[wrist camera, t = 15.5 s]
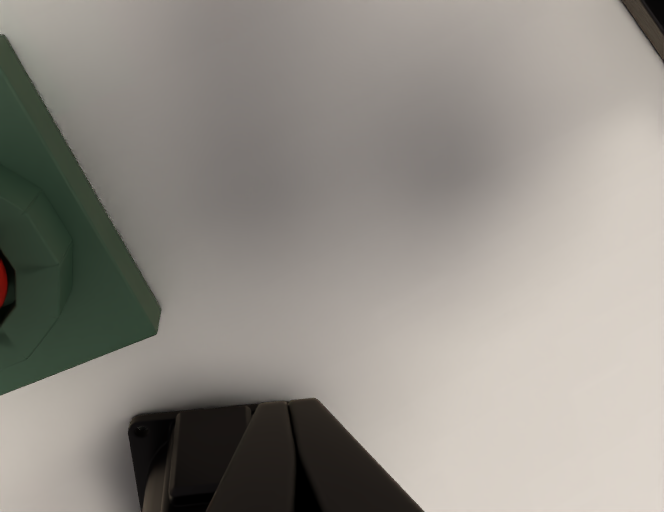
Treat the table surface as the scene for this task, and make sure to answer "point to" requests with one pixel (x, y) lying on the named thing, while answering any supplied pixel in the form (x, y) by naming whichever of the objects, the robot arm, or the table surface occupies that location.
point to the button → (3, 283)
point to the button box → (57, 249)
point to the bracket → (649, 20)
